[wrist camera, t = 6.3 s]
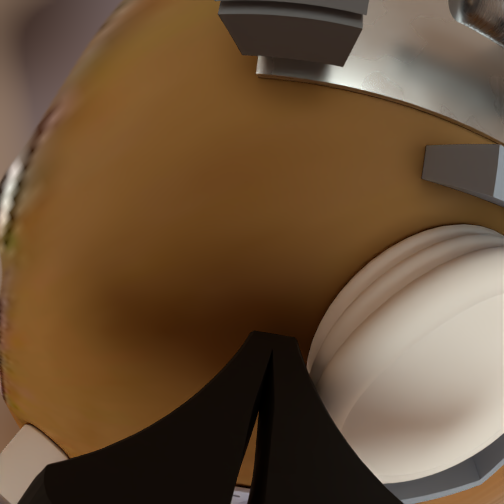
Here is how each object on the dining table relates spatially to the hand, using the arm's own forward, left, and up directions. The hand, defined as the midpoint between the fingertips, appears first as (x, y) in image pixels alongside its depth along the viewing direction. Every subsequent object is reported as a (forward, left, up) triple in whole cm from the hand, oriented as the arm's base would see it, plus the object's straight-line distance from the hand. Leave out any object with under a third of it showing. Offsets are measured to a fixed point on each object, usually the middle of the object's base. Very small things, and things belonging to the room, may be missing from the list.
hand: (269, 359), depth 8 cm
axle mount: (+10, -3, -1) cm, 11 cm away
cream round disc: (0, -6, -2) cm, 6 cm away
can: (-23, +20, -1) cm, 30 cm away
